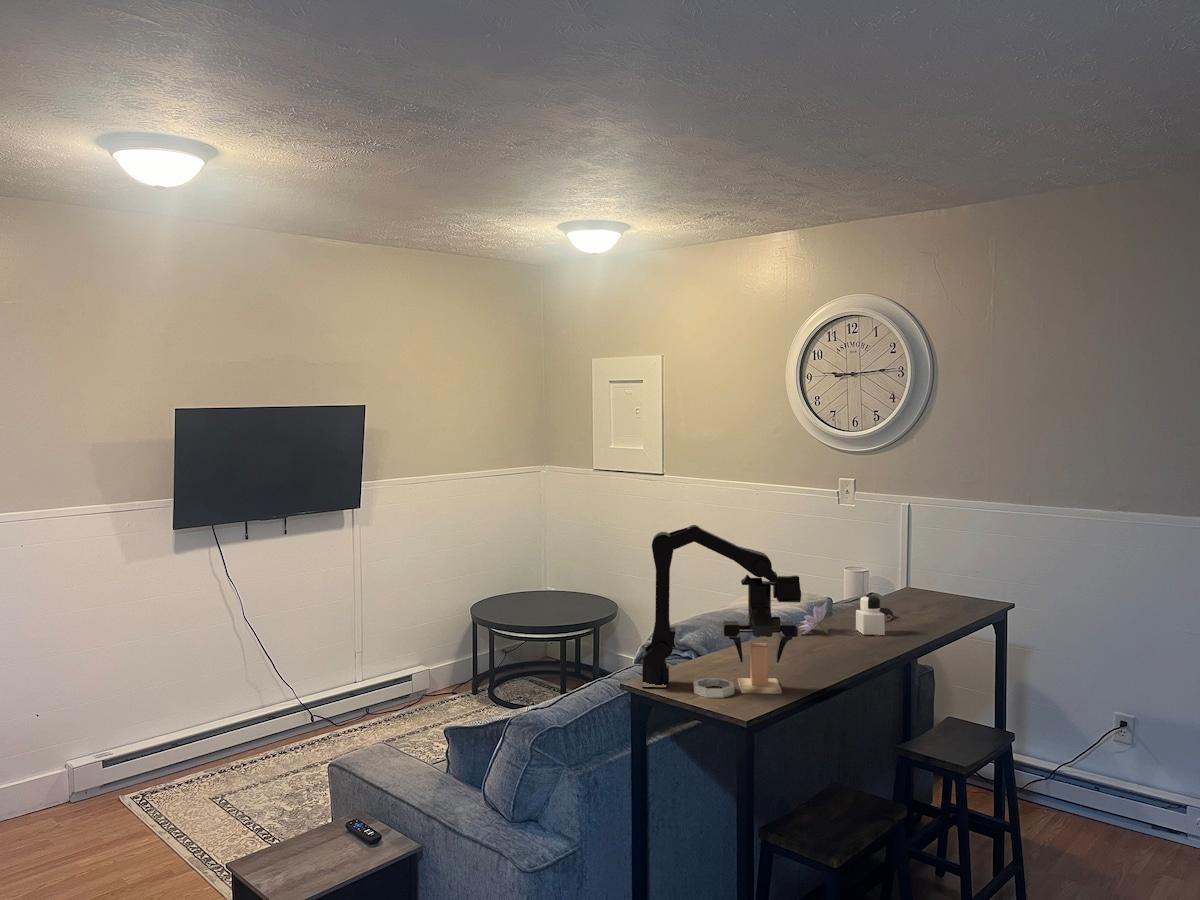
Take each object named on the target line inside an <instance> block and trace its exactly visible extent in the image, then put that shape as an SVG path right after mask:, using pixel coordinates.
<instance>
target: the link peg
mask: <svg viewBox="0 0 1200 900" xmlns="http://www.w3.org/2000/svg"><path fill="white" fill-rule="evenodd" d="M749 646H750V649H749V650H750V659H749V660H750V664H749V665H750V669H749V670H750V677H749V678H750V682H751V684H752V686H768V678H769V646H768V645H767V643H766V642H765V643H764V642H763V643H761V642H759V643H756V642H755V643H754V642H753V643H751V642H750V645H749Z"/></svg>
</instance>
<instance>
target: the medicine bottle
mask: <svg viewBox="0 0 1200 900" xmlns="http://www.w3.org/2000/svg"><path fill="white" fill-rule="evenodd" d="M859 604H860V609H856V610H855V631H856V630H858V631H859V632H861V633H862V634H878V635H884V636H885V634H886V633H885V630H886V629H885V626H886V624H885V623H886V622H885V615H884V614H883V613H881V612H880V611H879V610H880V608H881V600H880V598H879V597H877V596H872V595H865V596H864V595H863V596H862V597H860V602H859Z"/></svg>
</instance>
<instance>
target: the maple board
mask: <svg viewBox="0 0 1200 900" xmlns="http://www.w3.org/2000/svg"><path fill="white" fill-rule="evenodd" d="M737 683H739V684H738V686H740V687H739V689H740V691H741V694H772V695H773V694H779V695H782V694H783V691H782V687H781V685H780V684H779V682H778V679H777V678H771V677H768V686H752V684H751V682H750V677H737Z"/></svg>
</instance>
